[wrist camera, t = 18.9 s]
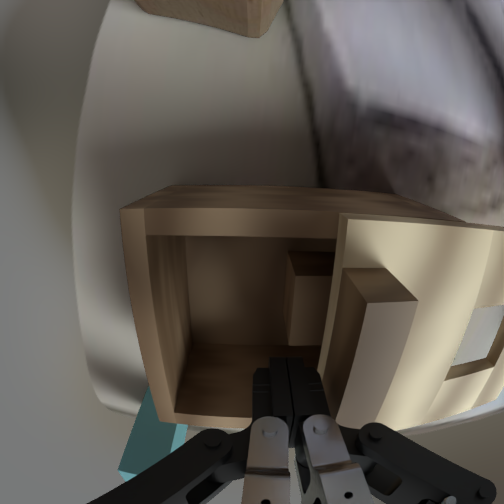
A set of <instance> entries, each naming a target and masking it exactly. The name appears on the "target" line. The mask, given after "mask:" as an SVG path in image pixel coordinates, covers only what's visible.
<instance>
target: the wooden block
mask: <svg viewBox="0 0 504 504" xmlns="http://www.w3.org/2000/svg"><path fill="white" fill-rule="evenodd" d="M283 1H284V0H135V2H136V3H137V4H138V5H139V6H140V7H141V8H142V10H144V11H145V12H147V13H148V14H154V15H160V16H166V17H172V18H177V19H182V20H187V21H191V22H196V23H200V24H204V25H208V26H212V27H216V28H220V29H223V30H227V31H230V32H234V33H237V34H240V35H243V36H246V37H251V38H259V37H260V36H262V35H263V34H264V33H266V32H267V31H268V29H269V27H270V25H271V23H272V21H273V19H274V18H275V16H276V14H277V12H278V10H279V8H280V6H281V5H282V3H283Z"/></svg>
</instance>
